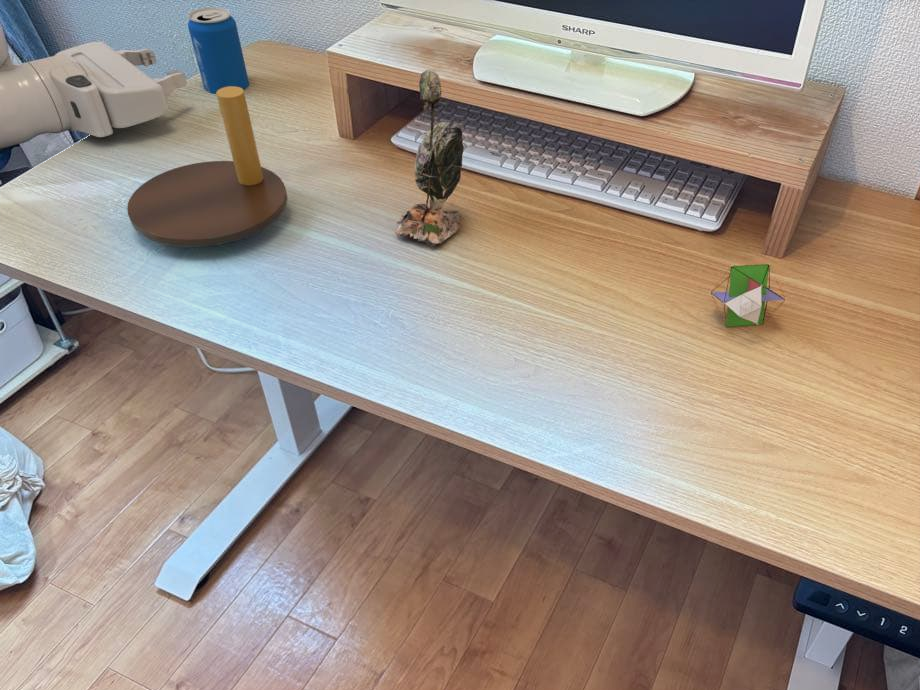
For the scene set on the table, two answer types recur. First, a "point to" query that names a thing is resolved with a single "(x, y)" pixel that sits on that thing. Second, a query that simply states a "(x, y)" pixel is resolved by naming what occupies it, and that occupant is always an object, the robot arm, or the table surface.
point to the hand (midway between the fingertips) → (168, 66)
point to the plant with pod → (434, 173)
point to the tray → (212, 191)
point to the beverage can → (217, 49)
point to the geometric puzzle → (747, 295)
